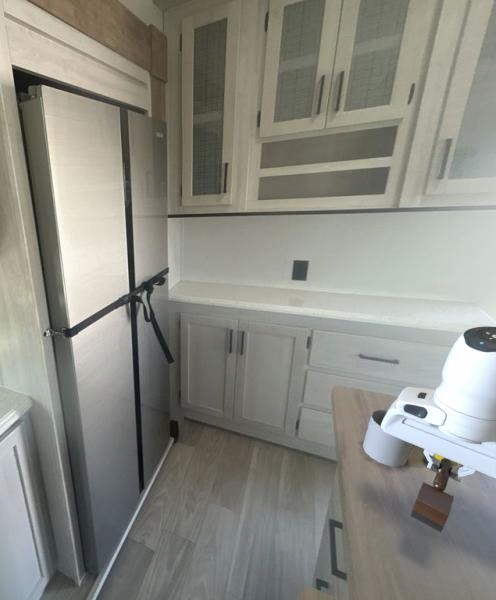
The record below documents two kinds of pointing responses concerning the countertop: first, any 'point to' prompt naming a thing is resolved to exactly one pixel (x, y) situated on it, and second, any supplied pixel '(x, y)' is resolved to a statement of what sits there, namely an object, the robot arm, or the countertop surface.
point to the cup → (384, 443)
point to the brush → (435, 499)
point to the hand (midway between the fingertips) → (443, 472)
